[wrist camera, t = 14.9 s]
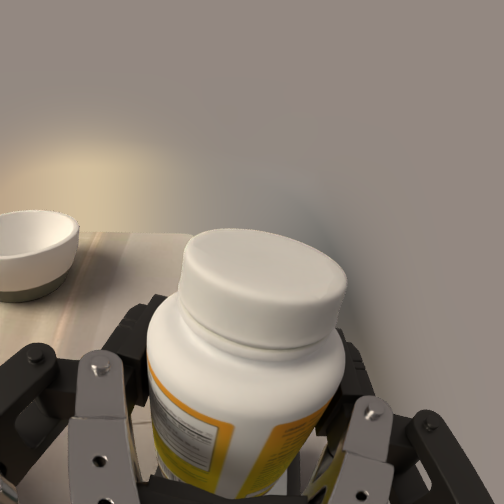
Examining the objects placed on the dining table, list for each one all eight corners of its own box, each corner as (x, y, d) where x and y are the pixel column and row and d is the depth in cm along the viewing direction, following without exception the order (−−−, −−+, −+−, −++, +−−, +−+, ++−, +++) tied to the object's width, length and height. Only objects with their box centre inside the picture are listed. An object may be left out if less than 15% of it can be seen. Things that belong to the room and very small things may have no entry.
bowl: (95, 254, 51) (95, 213, 48) (56, 324, 31) (47, 267, 28) (6, 245, 44) (3, 207, 41) (-51, 299, 24) (-63, 250, 21)
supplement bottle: (276, 423, 13) (347, 240, 10) (278, 516, 8) (422, 341, 4) (170, 405, 13) (184, 207, 9) (143, 495, 8) (100, 285, 4)
